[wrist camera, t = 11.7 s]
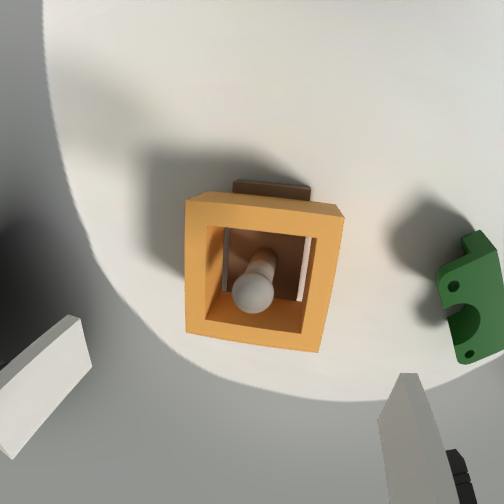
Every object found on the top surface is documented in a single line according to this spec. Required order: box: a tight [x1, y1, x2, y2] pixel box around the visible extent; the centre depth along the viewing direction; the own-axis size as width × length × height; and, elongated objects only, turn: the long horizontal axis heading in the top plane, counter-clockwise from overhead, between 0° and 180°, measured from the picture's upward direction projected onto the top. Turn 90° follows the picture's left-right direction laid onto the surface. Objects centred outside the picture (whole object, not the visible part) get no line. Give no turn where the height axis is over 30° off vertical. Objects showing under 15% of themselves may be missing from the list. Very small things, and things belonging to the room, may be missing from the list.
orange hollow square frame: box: [185, 191, 345, 353], centre depth 22 cm, size 10×10×5 cm
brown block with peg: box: [227, 180, 311, 313], centre depth 22 cm, size 14×6×10 cm, turn 176°
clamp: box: [435, 230, 504, 365], centre depth 22 cm, size 12×6×9 cm, turn 27°
